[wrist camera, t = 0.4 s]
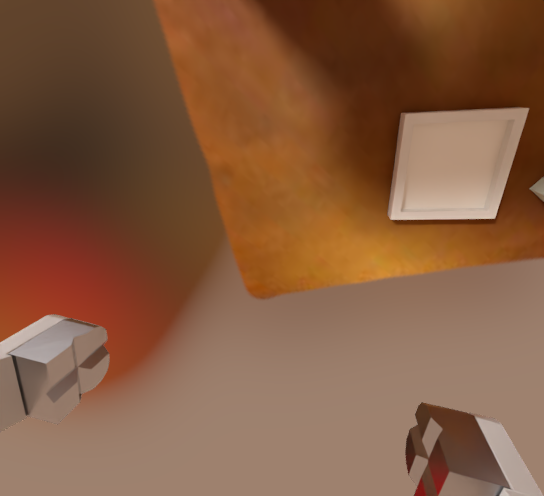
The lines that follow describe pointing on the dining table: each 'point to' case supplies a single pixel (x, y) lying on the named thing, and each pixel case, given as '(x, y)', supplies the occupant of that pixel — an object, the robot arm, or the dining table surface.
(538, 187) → the sage block
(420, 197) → the serving tray
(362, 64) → the dining table surface
